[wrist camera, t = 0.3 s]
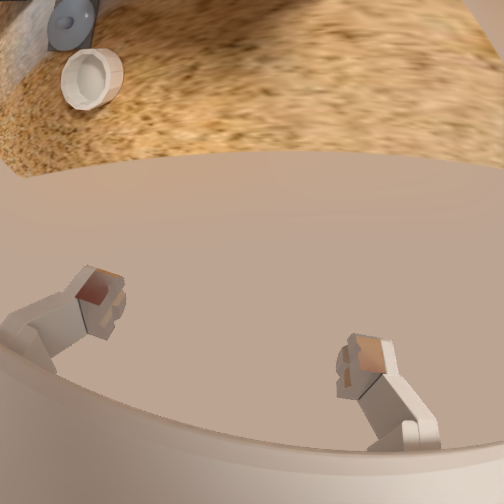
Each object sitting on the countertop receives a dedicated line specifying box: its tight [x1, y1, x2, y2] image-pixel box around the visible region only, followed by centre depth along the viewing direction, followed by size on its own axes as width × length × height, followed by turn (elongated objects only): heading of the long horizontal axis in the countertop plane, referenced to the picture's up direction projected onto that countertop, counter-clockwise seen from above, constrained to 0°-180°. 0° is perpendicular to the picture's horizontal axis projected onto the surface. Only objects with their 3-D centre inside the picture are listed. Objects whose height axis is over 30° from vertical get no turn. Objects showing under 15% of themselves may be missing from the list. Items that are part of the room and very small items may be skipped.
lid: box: [47, 0, 95, 51], centre depth 39 cm, size 13×13×4 cm
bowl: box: [61, 48, 124, 110], centre depth 46 cm, size 12×12×5 cm
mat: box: [48, 0, 99, 51], centre depth 41 cm, size 12×12×1 cm
